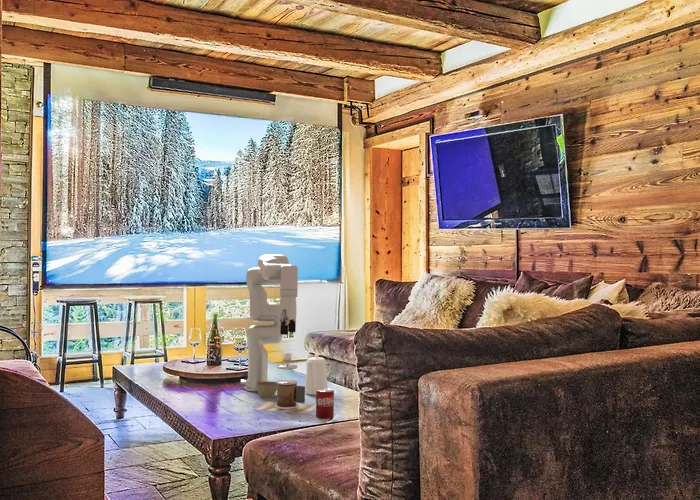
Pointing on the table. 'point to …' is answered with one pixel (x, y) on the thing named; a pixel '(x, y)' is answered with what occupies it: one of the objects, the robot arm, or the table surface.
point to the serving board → (301, 409)
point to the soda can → (325, 404)
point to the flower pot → (266, 389)
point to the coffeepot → (315, 375)
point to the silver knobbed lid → (287, 362)
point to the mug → (289, 395)
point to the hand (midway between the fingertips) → (288, 333)
